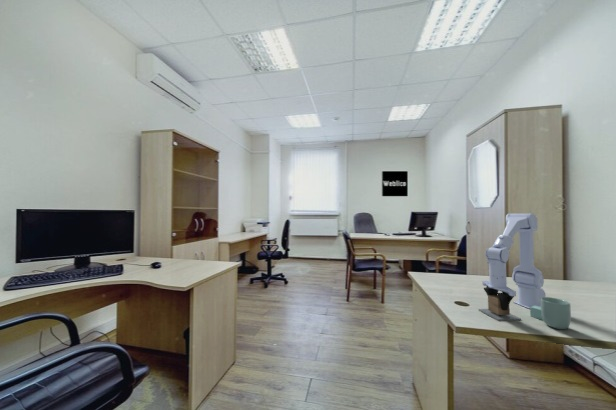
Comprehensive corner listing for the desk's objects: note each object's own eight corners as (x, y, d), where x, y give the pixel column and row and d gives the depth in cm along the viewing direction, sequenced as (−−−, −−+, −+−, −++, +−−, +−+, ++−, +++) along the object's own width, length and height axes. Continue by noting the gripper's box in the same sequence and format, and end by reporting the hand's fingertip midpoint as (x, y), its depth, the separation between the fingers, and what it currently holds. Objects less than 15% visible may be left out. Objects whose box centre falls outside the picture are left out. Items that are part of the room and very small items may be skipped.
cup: (536, 322, 93) (535, 297, 93) (553, 321, 93) (552, 296, 94) (558, 332, 85) (557, 304, 85) (577, 331, 86) (576, 304, 86)
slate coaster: (499, 309, 105) (499, 308, 105) (521, 320, 95) (521, 318, 95) (478, 310, 104) (478, 309, 104) (497, 320, 94) (497, 319, 94)
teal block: (535, 314, 100) (535, 305, 100) (547, 318, 96) (547, 308, 96) (530, 316, 98) (530, 306, 98) (542, 320, 95) (542, 310, 95)
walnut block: (499, 309, 102) (498, 294, 102) (509, 314, 97) (509, 299, 97) (488, 310, 102) (487, 295, 102) (498, 315, 97) (497, 299, 97)
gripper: (475, 271, 107) (476, 301, 107) (503, 280, 93) (505, 314, 92) (490, 271, 107) (491, 300, 107) (520, 280, 93) (521, 314, 93)
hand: (498, 307), depth 100 cm, fingers closed on walnut block, 5 cm apart
